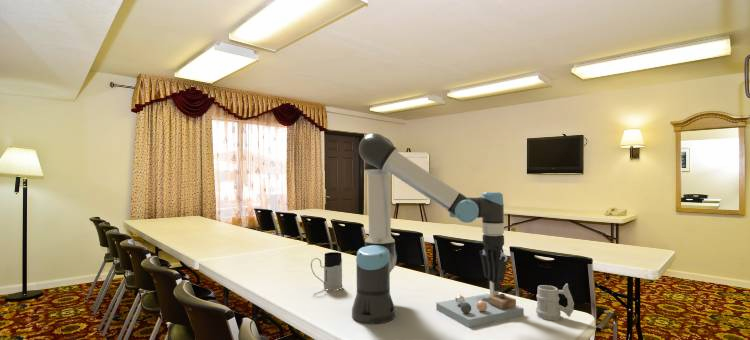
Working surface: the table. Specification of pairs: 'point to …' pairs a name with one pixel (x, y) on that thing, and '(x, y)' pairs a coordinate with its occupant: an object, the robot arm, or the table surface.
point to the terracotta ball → (481, 306)
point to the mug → (552, 302)
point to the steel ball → (459, 300)
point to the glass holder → (332, 271)
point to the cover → (502, 301)
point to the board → (477, 311)
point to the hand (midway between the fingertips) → (494, 299)
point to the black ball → (465, 307)
